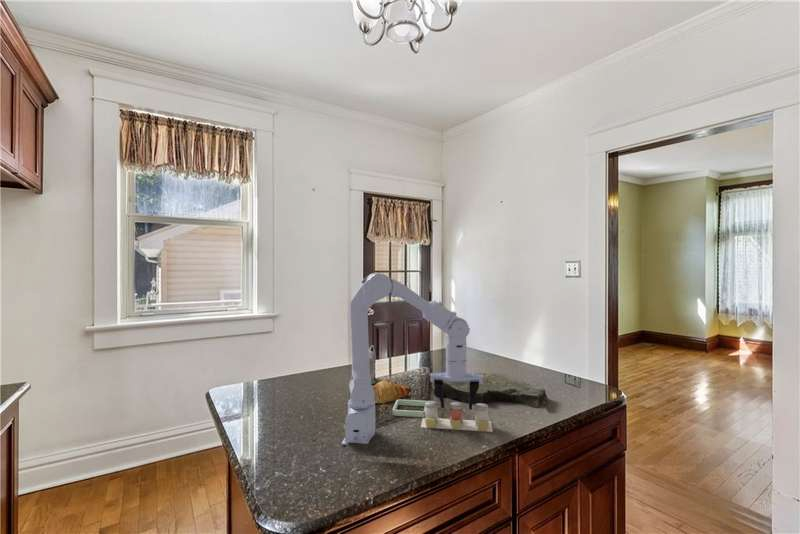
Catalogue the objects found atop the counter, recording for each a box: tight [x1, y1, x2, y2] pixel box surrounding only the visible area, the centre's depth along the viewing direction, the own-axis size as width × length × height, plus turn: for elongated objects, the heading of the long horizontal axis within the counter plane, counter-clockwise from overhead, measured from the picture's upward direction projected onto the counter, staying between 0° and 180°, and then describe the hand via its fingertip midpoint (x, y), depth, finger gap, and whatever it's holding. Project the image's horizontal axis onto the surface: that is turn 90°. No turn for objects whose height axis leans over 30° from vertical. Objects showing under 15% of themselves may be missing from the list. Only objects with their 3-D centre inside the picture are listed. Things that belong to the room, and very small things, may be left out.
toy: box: [369, 345, 377, 385], centre depth 147 cm, size 6×19×15 cm, turn 16°
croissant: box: [372, 379, 412, 404], centre depth 127 cm, size 21×10×8 cm, turn 116°
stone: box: [433, 372, 548, 409], centre depth 130 cm, size 35×6×29 cm
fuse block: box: [420, 417, 494, 433], centre depth 106 cm, size 6×20×3 cm, turn 81°
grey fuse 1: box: [424, 400, 439, 425], centre depth 107 cm, size 4×4×6 cm
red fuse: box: [449, 401, 464, 426], centre depth 106 cm, size 4×4×6 cm
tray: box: [391, 398, 428, 418], centre depth 116 cm, size 9×10×2 cm
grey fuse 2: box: [474, 403, 489, 428], centre depth 105 cm, size 4×4×6 cm
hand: (456, 407), depth 106 cm, fingers open, 7 cm apart
